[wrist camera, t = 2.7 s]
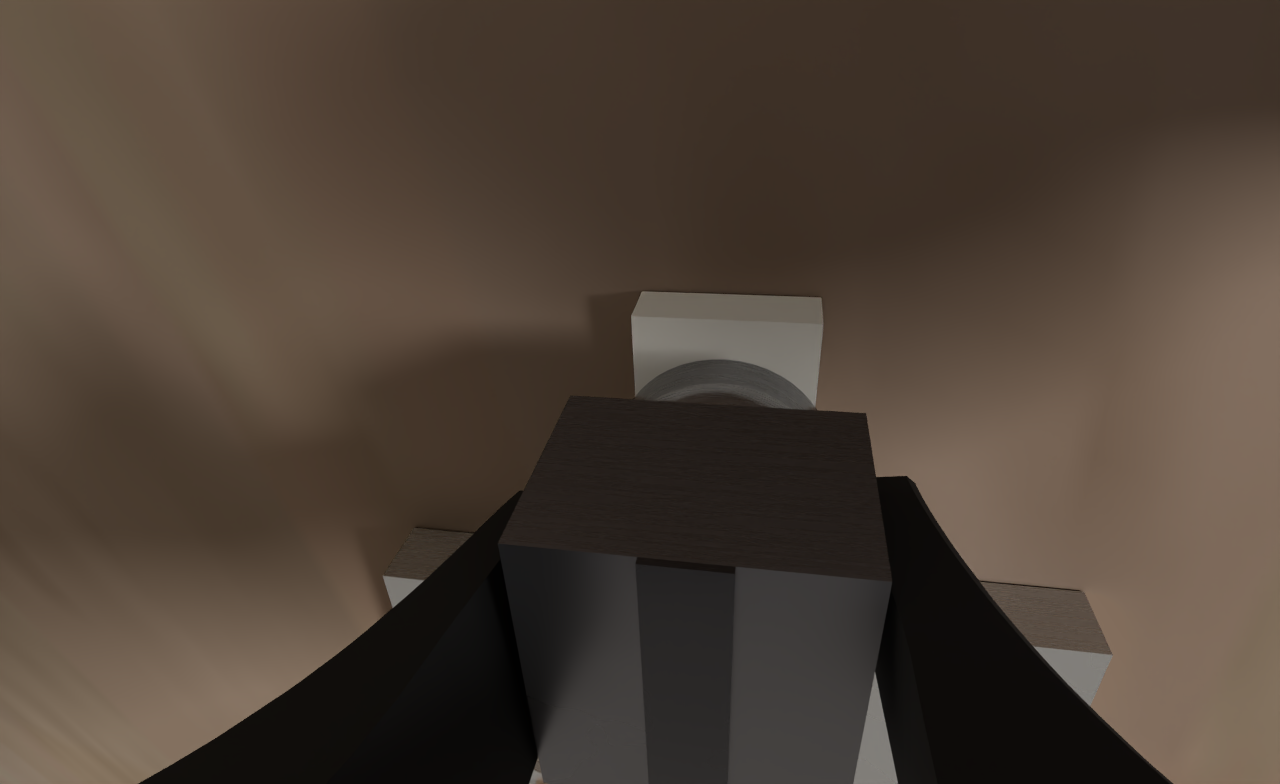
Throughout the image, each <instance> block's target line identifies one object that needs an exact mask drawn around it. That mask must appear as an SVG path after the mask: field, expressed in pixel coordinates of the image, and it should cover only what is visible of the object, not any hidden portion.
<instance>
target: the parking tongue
mask: <svg viewBox="0 0 1280 784" xmlns="http://www.w3.org/2000/svg"><path fill="white" fill-rule="evenodd" d="M631 323H632V343H633V363H634V382H635V396H636V395H637V394H638V392H639V391H640V390H641V389H642V388H643V387H644V386H645V385H646V384H647V383H649V382H650V381H651V380H653V379H654V378H655V377H657V376H658V375H660V374H662V373H664V372H666V371H667V370H669V369H672V368H674V367H677V366H680V365H682V364H686V363H690V362H695V361H702V360H710V359H725V360H735V361H741V362H746V363H750V364H754V365H757V366H760V367H763V368H766V369H768V370H770V371H772V372H774V373H776V374H778V375H780V376H782V377H783V378H785V379H786V380H788V381H790V382H791V383H792V384H794V385H795V386H796V387H797V388H798V389H800V390H801V391H802V392H803V393H804V394H805V395H806V396H807V398H808V399H809V400H810V401H811V402H812V404H813V405H814V406H815V405H816V395H817V385H818V375H819V365H820V355H821V345H822V335H823V325H824V323H823V311H822V299H821V297H795V296H766V295H736V294H707V293H677V292H648V291H642V292H641V295H640V297H639V299H638V302H637V304H636V306H635V309H634V311H633V313H632V315H631Z"/></svg>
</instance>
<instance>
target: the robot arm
mask: <svg viewBox="0 0 1280 784" xmlns="http://www.w3.org/2000/svg"><path fill="white" fill-rule="evenodd" d="M876 481H877V487H878V493H879V500H880V506H881V513H882V519H883V525H884V532H885V538H886V545H887V551H888V557H889V564H890V570H891V577H892V586H891V592H890V597H889V602H888V607H887V612H886V617H885V622H884V628H883V633H882V638H881V643H880V648H879V653H878V659H877V664H876V669H875V674H876V679H877V684H878V689H879V693H880V698H881V703H882V708H883V713H884V718H885V723H886V728H887V732H888V737H889V742H890V747H891V752H892V757H893V762H894V766H895V771H896V776H897V781H898V784H1173V783H1172V782H1171V781H1169V780H1168V779H1167V778H1166V777H1165V776H1164V775H1163V774H1161V773H1160V772H1159V771H1158V770H1157V769H1156V768H1154V767H1153V766H1152V765H1151V764H1150V763H1149V762H1148V761H1147V760H1145V759H1144V758H1143V757H1142V756H1141V755H1140V754H1139V753H1138V752H1137V751H1136V750H1135V749H1134V748H1133V747H1132V746H1131V745H1129V744H1128V743H1127V742H1126V741H1125V740H1124V739H1123V738H1122V737H1121V736H1120V735H1119V734H1118V733H1117V732H1116V731H1115V730H1114V729H1113V728H1112V727H1111V726H1110V725H1108V724H1107V723H1106V722H1105V721H1104V720H1103V719H1102V718H1101V717H1100V716H1099V715H1098V714H1097V713H1096V712H1095V711H1094V710H1093V709H1092V708H1091V707H1090V706H1089V705H1088V704H1087V703H1086V702H1085V701H1084V700H1083V699H1082V698H1081V697H1080V696H1079V695H1078V694H1077V693H1076V692H1075V691H1074V690H1073V689H1072V688H1071V687H1070V686H1069V685H1068V684H1067V683H1066V682H1065V681H1064V679H1063V678H1062V677H1061V676H1060V675H1059V674H1058V673H1057V672H1056V671H1055V670H1054V669H1053V668H1052V667H1051V666H1050V665H1049V663H1048V662H1047V661H1046V660H1045V659H1044V658H1043V657H1042V656H1041V655H1040V654H1039V652H1038V651H1037V650H1036V649H1035V648H1034V647H1033V646H1032V645H1031V643H1030V642H1029V641H1028V640H1027V639H1026V638H1025V636H1024V635H1023V634H1022V633H1021V632H1020V631H1019V629H1018V628H1017V627H1016V626H1015V625H1014V624H1013V623H1012V621H1011V620H1010V619H1009V618H1008V617H1007V616H1006V614H1005V613H1004V612H1003V611H1002V609H1001V608H1000V607H999V606H998V604H997V603H996V602H995V601H994V600H993V598H992V597H991V596H990V595H989V593H988V592H987V591H986V589H985V588H984V587H983V585H982V584H981V583H980V581H979V580H978V579H977V578H976V576H975V575H974V574H973V572H972V571H971V570H970V568H969V567H968V566H967V564H966V563H965V562H964V560H963V559H962V558H961V556H960V555H959V553H958V552H957V551H956V549H955V548H954V546H953V545H952V544H951V542H950V541H949V539H948V538H947V536H946V535H945V533H944V532H943V530H942V529H941V527H940V526H939V524H938V523H937V521H936V519H935V518H934V516H933V515H932V513H931V512H930V510H929V508H928V506H927V505H926V503H925V501H924V500H923V498H922V496H921V494H920V492H919V490H918V488H917V486H916V484H915V483H914V482H913V481H912V480H911V479H909V478H908V477H907V476H896V477H876ZM522 493H523V491H519V492H518V493H516V494H515V495H514V496H513V497H512V498H511V499H510V500H508V501H507V502H506V503H505V504H504V505H503V506H502V507H501V508H500V509H499V510H498V511H497V512H496V513H495V514H494V515H492V516H491V517H490V518H489V519H488V520H487V521H486V522H485V523H484V524H483V525H482V526H481V527H480V528H479V529H478V530H477V531H476V532H475V533H474V534H473V535H472V536H471V537H470V538H469V539H468V540H467V541H466V542H464V543H463V544H462V545H461V546H460V547H459V548H458V549H457V550H456V551H455V552H454V553H453V554H452V555H451V556H450V557H449V558H448V559H447V560H445V561H444V562H443V563H442V564H441V565H440V566H439V567H438V568H437V569H436V570H435V571H434V572H433V573H432V574H431V575H430V576H429V577H427V578H426V579H425V580H424V581H423V582H422V583H421V584H420V585H419V586H417V587H416V588H415V589H414V590H413V591H412V592H411V593H409V594H408V595H407V596H406V597H405V598H404V599H403V600H401V601H400V602H399V603H398V604H397V605H396V606H395V607H393V608H392V609H391V610H390V611H389V612H388V613H387V614H385V615H384V616H383V617H382V618H381V619H380V620H378V621H377V622H376V623H375V624H374V625H373V626H372V627H370V628H369V629H368V630H367V631H366V632H364V633H363V634H362V635H361V636H360V637H358V638H357V639H356V640H355V641H353V642H352V643H351V644H350V645H348V646H347V647H346V648H345V649H343V650H342V651H341V652H339V653H338V654H337V655H336V656H334V657H333V658H332V659H330V660H329V661H328V662H326V663H325V664H324V665H322V666H321V667H319V668H318V669H317V670H315V671H314V672H313V673H311V674H310V675H309V676H307V677H306V678H305V679H303V680H302V681H301V682H299V683H298V684H296V685H295V686H294V687H292V688H291V689H289V690H288V691H287V692H285V693H284V694H282V695H281V696H279V697H278V698H276V699H274V700H273V701H271V702H270V703H268V704H267V705H265V706H264V707H262V708H261V709H259V710H258V711H256V712H255V713H253V714H252V715H250V716H249V717H247V718H246V719H244V720H243V721H241V722H240V723H238V724H237V725H235V726H234V727H232V728H231V729H229V730H228V731H226V732H225V733H223V734H222V735H220V736H218V737H217V738H215V739H214V740H212V741H210V742H209V743H207V744H206V745H204V746H202V747H200V748H199V749H197V750H195V751H194V752H192V753H190V754H189V755H187V756H185V757H184V758H182V759H180V760H179V761H177V762H175V763H174V764H172V765H170V766H169V767H167V768H165V769H163V770H162V771H160V772H158V773H156V774H154V775H153V776H151V777H149V778H147V779H146V780H144V781H142V782H140V783H139V784H529V783H530V780H531V777H532V774H533V771H534V768H535V765H536V762H537V759H538V752H537V747H536V742H535V737H534V731H533V726H532V721H531V716H530V710H529V705H528V700H527V695H526V689H525V684H524V679H523V674H522V668H521V663H520V658H519V653H518V647H517V642H516V637H515V632H514V626H513V621H512V616H511V611H510V605H509V600H508V595H507V590H506V584H505V579H504V574H503V569H502V563H501V558H500V553H499V548H498V542H499V540H500V538H501V536H502V534H503V532H504V530H505V528H506V526H507V524H508V521H509V519H510V517H511V515H512V513H513V511H514V509H515V507H516V505H517V503H518V501H519V499H520V497H521V495H522Z"/></svg>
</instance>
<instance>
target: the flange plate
mask: <svg viewBox="0 0 1280 784" xmlns="http://www.w3.org/2000/svg"><path fill="white" fill-rule="evenodd" d="M472 535H473V533H463V532H452V531H442V530H431V529H421V528H413V530H412V532H411V533H410V535H409V536H408V538H407V539H406V541H405V542H404V544H403V545H402V547H401V549H400V550H399V552H398V553H397V555H396V556H395V558H394V559H393V561H392V562H391V564H390V566H389V567H388V569H387V570H386V572H385V573H384V575H383V578H384V582H385V585H386V588H387V591H388V595H389V598H390V601H391V604H392V607H395V606H396V605H397V604H398V603H399V602H400V601H401V600H403V599H404V598H405V597H406V596H407V595H408V594H409V593H411V592H412V591H413V590H414V589H415V588H416V587H417V586H419V585H420V584H421V583H422V582H423V581H424V580H425V579H426V578H427V577H429V576H430V575H431V574H432V573H433V572H434V571H435V570H436V569H437V568H438V567H439V566H440V565H441V564H442V563H443V562H444V561H445V560H447V559H448V558H449V557H450V556H451V555H452V554H453V553H454V552H455V551H456V550H457V549H458V548H459V547H460V546H461V545H462V544H463V543H464V542H466V541H467V540H468V539H469V538H470V537H471V536H472ZM980 583H981V584H982V585H983V587H984V588H985V589H986V591H987V592H988V593H989V595H990V596H991V597H992V598H993V600H994V601H995V602H996V603H997V604H998V606H999V607H1000V608H1001V609H1002V611H1003V612H1004V613H1005V614H1006V616H1007V617H1008V618H1009V619H1010V620H1011V621H1012V623H1013V624H1014V625H1015V626H1016V627H1017V628H1018V629H1019V631H1020V632H1021V633H1022V634H1023V635H1024V636H1025V638H1026V639H1027V640H1028V641H1029V642H1030V643H1031V645H1032V646H1033V647H1034V648H1035V649H1036V650H1037V651H1038V652H1039V654H1040V655H1041V656H1042V657H1043V658H1044V659H1045V660H1046V661H1047V662H1048V663H1049V665H1050V666H1051V667H1052V668H1053V669H1054V670H1055V671H1056V672H1057V673H1058V674H1059V675H1060V676H1061V677H1062V678H1063V679H1064V681H1065V682H1066V683H1067V684H1068V685H1069V686H1070V687H1071V688H1072V689H1073V690H1074V691H1075V692H1076V693H1077V694H1078V695H1079V696H1080V697H1081V698H1082V699H1083V700H1084V701H1085V702H1086V703H1087V704H1088V705H1089V706H1090V705H1091V703H1092V701H1093V698H1094V696H1095V694H1096V692H1097V689H1098V687H1099V685H1100V683H1101V680H1102V678H1103V676H1104V674H1105V671H1106V669H1107V667H1108V665H1109V662H1110V660H1111V658H1112V656H1113V654H1112V652H1111V650H1110V648H1109V646H1108V643H1107V641H1106V639H1105V637H1104V635H1103V632H1102V630H1101V628H1100V626H1099V624H1098V621H1097V619H1096V617H1095V615H1094V612H1093V610H1092V608H1091V606H1090V604H1089V601H1088V599H1087V597H1086V595H1085V593H1084V592H1081V591H1071V590H1060V589H1050V588H1039V587H1029V586H1018V585H1008V584H997V583H987V582H980ZM529 784H547V783H543V779H542V773H541V768H540V763H539V758H538V759H537V762H536V765H535V768H534V771H533V774H532V777H531V780H530V783H529ZM853 784H898V781H897V776H896V771H895V766H894V762H893V757H892V752H891V747H890V742H889V737H888V732H887V728H886V723H885V718H884V713H883V708H882V703H881V698H880V693H879V689H878V684H877V679H876V674H874V679H873V684H872V690H871V695H870V700H869V705H868V710H867V715H866V721H865V726H864V731H863V736H862V741H861V746H860V751H859V757H858V762H857V767H856V772H855V777H854V782H853Z"/></svg>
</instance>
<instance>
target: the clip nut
mask: <svg viewBox="0 0 1280 784" xmlns="http://www.w3.org/2000/svg"><path fill="white" fill-rule="evenodd" d="M498 548H499V553H500V558H501V563H502V569H503V574H504V579H505V584H506V590H507V595H508V600H509V605H510V611H511V616H512V621H513V626H514V632H515V637H516V642H517V647H518V653H519V658H520V663H521V668H522V674H523V679H524V684H525V689H526V695H527V700H528V705H529V710H530V716H531V721H532V726H533V731H534V737H535V742H536V747H537V752H538V758H539V763H540V768H541V773H542V779H543V783H547V784H853V782H854V777H855V772H856V767H857V762H858V757H859V751H860V746H861V741H862V736H863V731H864V726H865V721H866V715H867V710H868V705H869V700H870V695H871V690H872V684H873V679H874V674H875V669H876V664H877V659H878V653H879V648H880V643H881V638H882V633H883V628H884V622H885V617H886V612H887V607H888V602H889V597H890V592H891V586H892V577H891V570H890V564H889V557H888V551H887V545H886V538H885V532H884V525H883V519H882V513H881V506H880V500H879V493H878V487H877V481H876V474H875V468H874V461H873V455H872V448H871V442H870V436H869V429H868V423H867V416H866V413H852V412H835V411H818V410H817V409H816V408H815V406H814V405H813V404H812V402H811V401H810V400H809V399H808V398H807V396H806V395H805V394H804V393H803V392H802V391H801V390H800V389H798V388H797V387H796V386H795V385H794V384H792V383H791V382H790V381H788V380H786V379H785V378H783V377H782V376H780V375H778V374H776V373H774V372H772V371H770V370H768V369H766V368H763V367H760V366H757V365H754V364H750V363H746V362H741V361H735V360H725V359H710V360H702V361H695V362H690V363H686V364H682V365H680V366H677V367H674V368H672V369H669V370H667V371H666V372H664V373H662V374H660V375H658V376H657V377H655V378H654V379H653V380H651V381H650V382H649V383H647V384H646V385H645V386H644V387H643V388H642V389H641V390H640V391H639V392H638V394H637V395H636V396H635V398H634V399H619V398H602V397H585V396H570V398H569V400H568V402H567V404H566V406H565V408H564V410H563V412H562V414H561V416H560V418H559V420H558V422H557V424H556V426H555V428H554V430H553V432H552V434H551V436H550V438H549V440H548V442H547V444H546V446H545V448H544V450H543V452H542V454H541V456H540V458H539V461H538V463H537V465H536V467H535V469H534V471H533V473H532V475H531V477H530V479H529V481H528V483H527V485H526V487H525V489H524V491H523V493H522V495H521V497H520V499H519V501H518V503H517V505H516V507H515V509H514V511H513V513H512V515H511V517H510V519H509V521H508V524H507V526H506V528H505V530H504V532H503V534H502V536H501V538H500V540H499V542H498Z"/></svg>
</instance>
